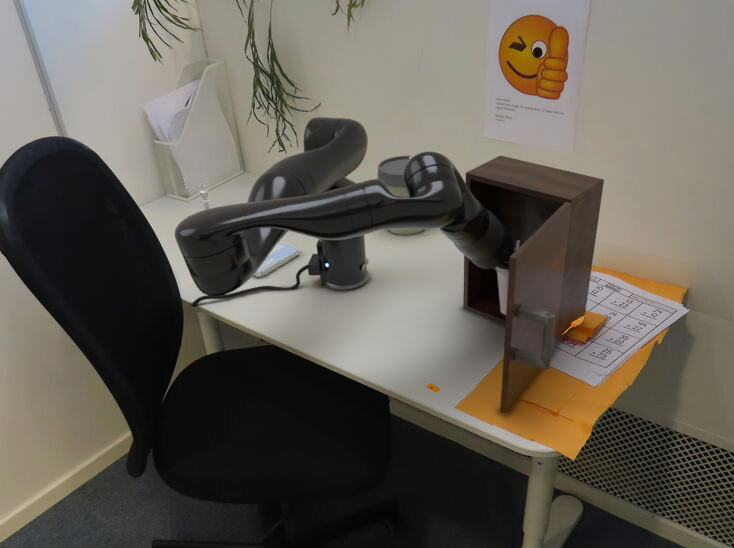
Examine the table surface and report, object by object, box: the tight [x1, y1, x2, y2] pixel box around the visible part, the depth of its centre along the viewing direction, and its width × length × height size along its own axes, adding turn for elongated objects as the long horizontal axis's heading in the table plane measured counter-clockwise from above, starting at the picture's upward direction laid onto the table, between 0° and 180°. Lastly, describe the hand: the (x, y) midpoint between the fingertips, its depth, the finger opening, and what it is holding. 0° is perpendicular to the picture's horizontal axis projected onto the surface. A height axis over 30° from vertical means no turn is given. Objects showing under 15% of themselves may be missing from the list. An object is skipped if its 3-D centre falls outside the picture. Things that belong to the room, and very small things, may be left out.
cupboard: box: [462, 155, 605, 346], centre depth 121 cm, size 10×20×27 cm, turn 46°
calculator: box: [252, 241, 300, 278], centre depth 155 cm, size 13×20×2 cm, turn 53°
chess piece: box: [198, 182, 211, 210], centre depth 170 cm, size 5×5×10 cm
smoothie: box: [495, 240, 520, 315], centre depth 121 cm, size 6×6×14 cm
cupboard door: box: [499, 202, 572, 414], centre depth 104 cm, size 6×20×27 cm, turn 146°
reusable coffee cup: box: [376, 155, 425, 236], centre depth 159 cm, size 12×13×15 cm
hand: (518, 274), depth 122 cm, fingers closed on smoothie, 6 cm apart
